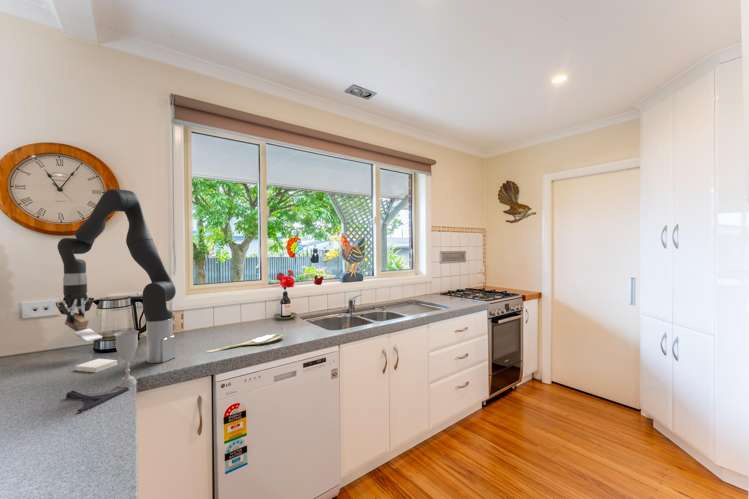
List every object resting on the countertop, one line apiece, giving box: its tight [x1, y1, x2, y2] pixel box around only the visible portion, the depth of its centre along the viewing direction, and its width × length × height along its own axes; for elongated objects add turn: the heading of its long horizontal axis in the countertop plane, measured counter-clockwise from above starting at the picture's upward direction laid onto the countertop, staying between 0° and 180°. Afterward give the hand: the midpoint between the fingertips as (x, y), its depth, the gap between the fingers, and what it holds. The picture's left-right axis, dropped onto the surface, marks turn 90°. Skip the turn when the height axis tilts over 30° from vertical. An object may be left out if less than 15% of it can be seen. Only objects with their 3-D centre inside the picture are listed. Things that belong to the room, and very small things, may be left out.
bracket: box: [65, 386, 130, 413], centre depth 98 cm, size 14×15×3 cm
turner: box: [64, 311, 103, 343], centre depth 135 cm, size 16×6×5 cm, turn 78°
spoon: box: [205, 333, 284, 354], centre depth 150 cm, size 35×11×2 cm, turn 124°
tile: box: [75, 358, 118, 373], centre depth 124 cm, size 2×8×10 cm
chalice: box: [113, 329, 140, 388], centre depth 108 cm, size 7×7×18 cm
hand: (76, 322), depth 136 cm, fingers closed on turner, 3 cm apart
